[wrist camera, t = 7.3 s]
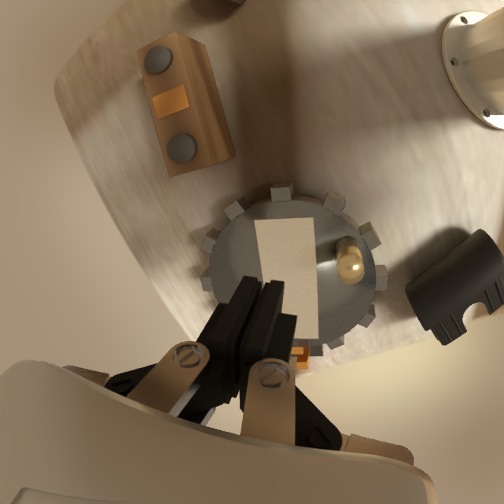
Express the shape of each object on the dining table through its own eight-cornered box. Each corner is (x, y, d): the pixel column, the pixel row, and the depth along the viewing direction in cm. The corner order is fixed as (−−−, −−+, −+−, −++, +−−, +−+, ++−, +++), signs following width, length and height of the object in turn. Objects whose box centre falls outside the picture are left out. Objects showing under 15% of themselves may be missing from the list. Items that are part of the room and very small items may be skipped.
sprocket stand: (320, 237, 28) (318, 254, 24) (331, 352, 33) (329, 376, 30) (261, 242, 29) (252, 260, 26) (284, 353, 35) (278, 376, 32)
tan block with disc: (205, 45, 22) (172, 29, 16) (236, 155, 26) (209, 166, 21) (170, 60, 23) (132, 50, 18) (199, 165, 28) (166, 179, 22)
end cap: (469, 217, 22) (500, 244, 16) (491, 265, 23) (518, 297, 18) (397, 273, 27) (411, 311, 21) (426, 314, 28) (439, 354, 22)
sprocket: (386, 178, 22) (405, 197, 16) (376, 341, 29) (380, 385, 24) (190, 192, 27) (155, 213, 22) (225, 338, 35) (206, 375, 29)
